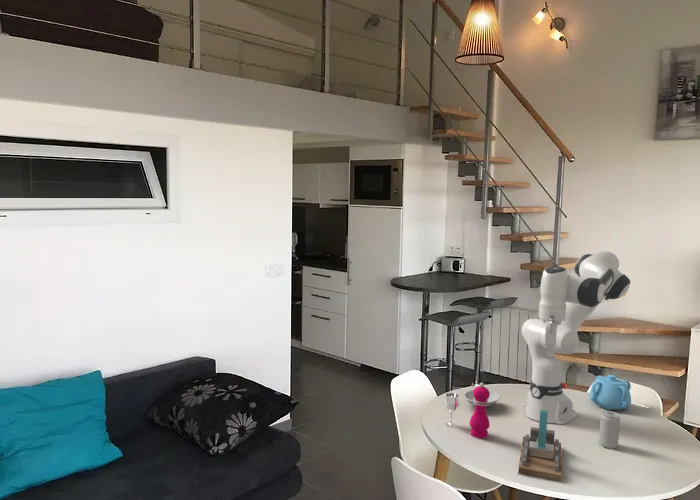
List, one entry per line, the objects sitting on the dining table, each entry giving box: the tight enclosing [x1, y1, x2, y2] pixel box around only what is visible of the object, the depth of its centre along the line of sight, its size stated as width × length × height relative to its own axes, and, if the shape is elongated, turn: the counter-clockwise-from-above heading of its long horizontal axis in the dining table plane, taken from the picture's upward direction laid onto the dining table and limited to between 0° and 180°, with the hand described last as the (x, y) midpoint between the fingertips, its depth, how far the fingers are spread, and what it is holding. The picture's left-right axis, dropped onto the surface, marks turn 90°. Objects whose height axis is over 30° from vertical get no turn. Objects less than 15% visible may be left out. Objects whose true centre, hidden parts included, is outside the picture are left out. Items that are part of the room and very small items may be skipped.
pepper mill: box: [469, 382, 490, 439], centre depth 216 cm, size 7×7×20 cm
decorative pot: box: [589, 374, 632, 411], centre depth 252 cm, size 16×16×14 cm
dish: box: [462, 389, 501, 408], centre depth 246 cm, size 18×14×5 cm
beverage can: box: [598, 410, 621, 449], centre depth 211 cm, size 6×6×12 cm
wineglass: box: [443, 392, 460, 429], centre depth 225 cm, size 6×6×12 cm
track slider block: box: [528, 410, 554, 459], centre depth 197 cm, size 5×8×15 cm, turn 70°
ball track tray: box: [518, 426, 562, 482], centre depth 198 cm, size 26×13×7 cm, turn 160°
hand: (549, 352), depth 203 cm, fingers open, 8 cm apart
